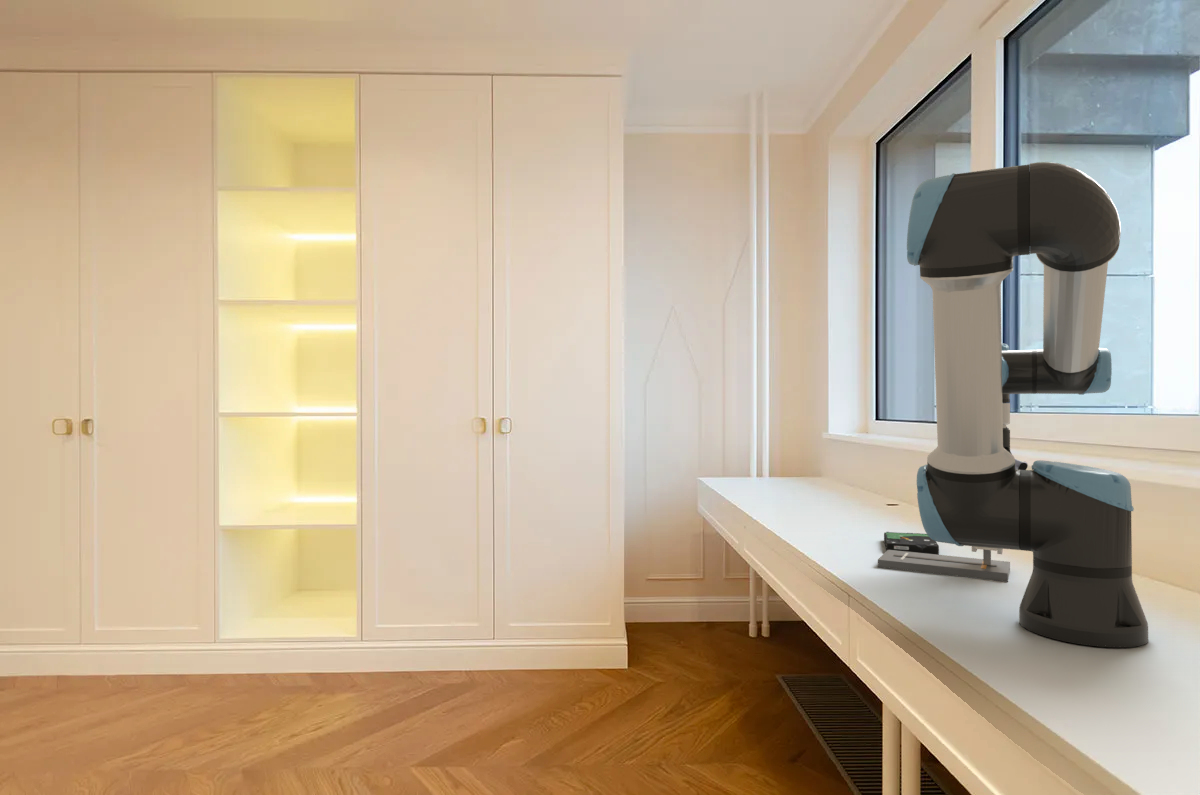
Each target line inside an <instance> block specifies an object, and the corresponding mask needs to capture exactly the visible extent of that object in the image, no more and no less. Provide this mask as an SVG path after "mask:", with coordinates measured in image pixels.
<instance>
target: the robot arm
mask: <svg viewBox="0 0 1200 795" xmlns="http://www.w3.org/2000/svg"><path fill="white" fill-rule="evenodd" d="M912 197H913V198H912V201H911V207H910V210H909V217H908V225H907V235H906V251H907V252H906V260H907V262H908V264H909V265H912V266H913V267H917V266H919V277H920V279H921V280H922V281H923V282H925V284H927V285H928V286H930V287H931V290H932V309H933V310H932V312H933V313H932V314H933V315H932V317H933V319H932V320H933V342H934V348H933V349H934V370H935V373H934V374H935V403H936V404H935V405H936V407H935V408H936V433H937V436H936V437H937V446H936V448H935V449H934V450H932V451H931V452H930V453H929V454H928V455H927V458H926V459H927V460H926V461H927V463H926V464H924V465H921V466H919V468H918V469H917V474H916V490H917V494H916V495H917V496H916V498H917V505H918V512H919V516H920V521H921V525H922V527H923V529H924V532H925V534H927V535H928V536H929V537H930V538H931V539H932V540H934V541H936V542H937V543H944V544H949V545H951V544H952V545H956V546H958V547H964V546H965V547H966V546H967V547H971V552H972V553H973V552H974V553H976V552H977V551H978V549H976V546H977V547H989V548H997V551H996V552H997V553H996V554H997V555H1003V550H1015V551H1026V552H1032V555H1033V556H1032V573H1031V575H1030V578H1029V580H1028V583H1027V586H1026V589H1025V591H1024V593H1023V596H1022V599H1021V601H1020V603H1019V608H1018V614H1019V615H1018V621H1019V622H1018V623H1019V624H1020V626H1022V627H1023V628H1025V629H1026V630H1028V631H1030V632H1032V633H1034V634H1037V635H1040V636H1044V637H1045V638H1050V639H1053V640H1057V641H1061V642H1066V643H1071V644H1075V645H1076V644H1078V645H1083V646H1090V647H1091V646H1092V647H1102V648H1135V647H1139V646H1143V645H1145V644H1147V643H1148V642H1149V624H1148V621H1147V618H1146V615H1145V612H1144V609H1143V607H1142V605H1141V602H1140V600H1139V596H1138V594H1137V591H1136V589H1135V586H1134V583H1133V550H1132V548H1133V547H1132V546H1133V542H1132V541H1133V540H1132V539H1133V538H1132V533H1133V532H1132V531H1133V530H1132V512H1134V510H1135V509H1134V505H1133V502H1132V501H1133V500H1132V488H1131V487H1132V486H1131V483H1130V480H1129V479H1128V478H1127V477H1126V476H1125V475H1123V474H1121V473H1120V472H1117V471H1113V470H1108V469H1105V468H1099V467H1093V466H1088V465H1082V464H1075V463H1069V462H1061V461H1050V460H1041V459H1040V460H1035V461H1034V462H1033V463H1032V465H1031V470H1030V469H1027V468H1028V466H1029V464H1028V462H1027V461H1021V460H1020V459H1016V458H1015V456H1014V455H1013V454H1012V452H1011V429H1009V427H1008V426H1007V425H1010V423H1011V403H1010V402H1011V400H1010V395H1023V394H1024V395H1027V394H1028V395H1032V394H1033V395H1035V394H1036V395H1037V394H1039V395H1040V394H1045V395H1046V394H1048V395H1049V394H1051V395H1053V394H1054V395H1055V394H1056V395H1059V394H1060V395H1063V394H1065V395H1070V394H1071V395H1075V394H1076V395H1081V396H1082V395H1087V394H1088V395H1089V394H1103V393H1106V392H1107V391H1109V390H1110V389H1111V385H1112V376H1113V375H1112V374H1113V373H1112V370H1113V369H1112V355H1111V351H1110V350H1109V349H1108V348H1107V347H1105V348H1104V347H1100V343H1101V342H1100V341H1101V333H1102V322H1103V314H1104V313H1103V312H1104V304H1105V295H1106V294H1105V293H1106V287H1107V286H1106V285H1107V277H1108V268H1109V267H1108V266H1109V262H1111V260H1112V259H1113V258H1115V256H1116V254H1117V253H1118V250H1119V248H1120V243H1121V242H1120V241H1121V234H1122V230H1121V229H1122V226H1121V219H1120V216H1119V213H1118V209H1117V206H1116V205H1115V204H1114V202H1113V200H1112V198H1111V196H1110V195H1109V194H1108V192H1107V191H1106V190H1105V188H1104V187H1103V186H1101V185H1100V184H1099V183H1098V182H1097V181H1096V180H1095V179H1094V178H1092V177H1091V176H1089V175H1088V174H1086V173H1085V172H1083V171H1081V170H1079V169H1077V168H1075V167H1072V166H1071V165H1068V164H1067V165H1066V164H1064V163H1060V162H1059V163H1058V162H1051V161H1038V162H1031V163H1028V164H1023V165H1022V164H1021V165H1012V166H1005V167H999V168H992V169H991V168H990V169H984V170H977V171H970V172H969V171H968V172H963V173H962V172H961V173H951V174H947V175H943V176H937V177H934V178H929V179H926V180H923V181H922V183H920V184H919V185H918V186H917V187H916V189H915V191H914V194H913V196H912ZM1030 254H1031V255H1034V254H1035V255H1036V257H1037V259H1038V260H1039V262H1040V263H1041V264H1042V265H1043V307H1042V308H1043V310H1042V311H1043V314H1042V316H1043V317H1042V318H1043V320H1042V322H1043V324H1042V325H1043V330H1042V332H1043V334H1042V335H1043V336H1042V337H1043V338H1042V339H1043V340H1042V341H1043V342H1042V343H1043V344H1042V345H1043V346H1042V349H1023V350H1022V349H1021V350H1020V349H1017V350H1016V349H1015V350H1013V349H1012V350H1010V347H1009V345H1008V344H1007V343H1003V342H1002V340H1003V339H1002V338H1003V336H1002V283H1003V281H1004V280H1005V279H1006V278H1007V277H1008V276H1009V275H1010V274H1011V273H1012V272H1013V271H1014V257H1016V256H1029V255H1030Z"/></svg>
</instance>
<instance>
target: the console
mask: <svg viewBox="0 0 1200 795" xmlns="http://www.w3.org/2000/svg"><path fill="white" fill-rule="evenodd" d="M877 568H881V569H889V570H898V571H907V572H908V571H909V572H915V573H916V572H918V573H926V574H935V575H944V576H952V577H953V576H954V577H961V578H962V577H963V578H969V579H971V578H972V579H981V580H988V581H996V582H1006V583H1008V581H1009V579H1010V578H1009V576H1010V572H1011V561H1007V560H1006V561H1004V560H996V559H991V565H990V564H983V558H975V557H967V556H966V557H965V556H955V555H945V554H944V555H943V554H939V555H937V554H926V553H916V552H906V551H896V550H887V551H886V550H885V552H884V553H883V554H882V555H881V556H880V557H879V558H878V559H877Z"/></svg>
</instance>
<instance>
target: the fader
mask: <svg viewBox="0 0 1200 795" xmlns="http://www.w3.org/2000/svg"><path fill="white" fill-rule="evenodd" d="M976 549H977V550H982V552H983V558H982V559H983V564H990V565H991V560H992V551H995V552H997V548H989V547H977V546H976Z"/></svg>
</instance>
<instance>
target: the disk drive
mask: <svg viewBox="0 0 1200 795" xmlns="http://www.w3.org/2000/svg"><path fill="white" fill-rule="evenodd" d="M883 543H884V546H885V552H886V551H887V550H896V551H906V552H916V553H926V554H937V555H940V546H939V543H938V542H937V541H934V540H932V539H931V538H930V537H929V536H928V535H927V533H919V532H918V533H917V532H914V533H913V532H896V531H894V532H892V531H886V532H884V533H883Z"/></svg>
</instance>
